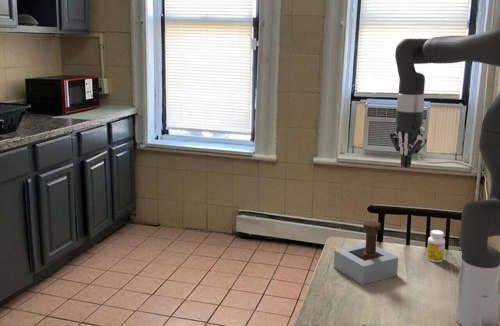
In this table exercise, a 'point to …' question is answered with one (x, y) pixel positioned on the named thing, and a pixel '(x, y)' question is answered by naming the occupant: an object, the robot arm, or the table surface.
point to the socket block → (365, 264)
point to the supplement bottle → (436, 246)
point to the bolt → (371, 239)
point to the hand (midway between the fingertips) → (405, 167)
